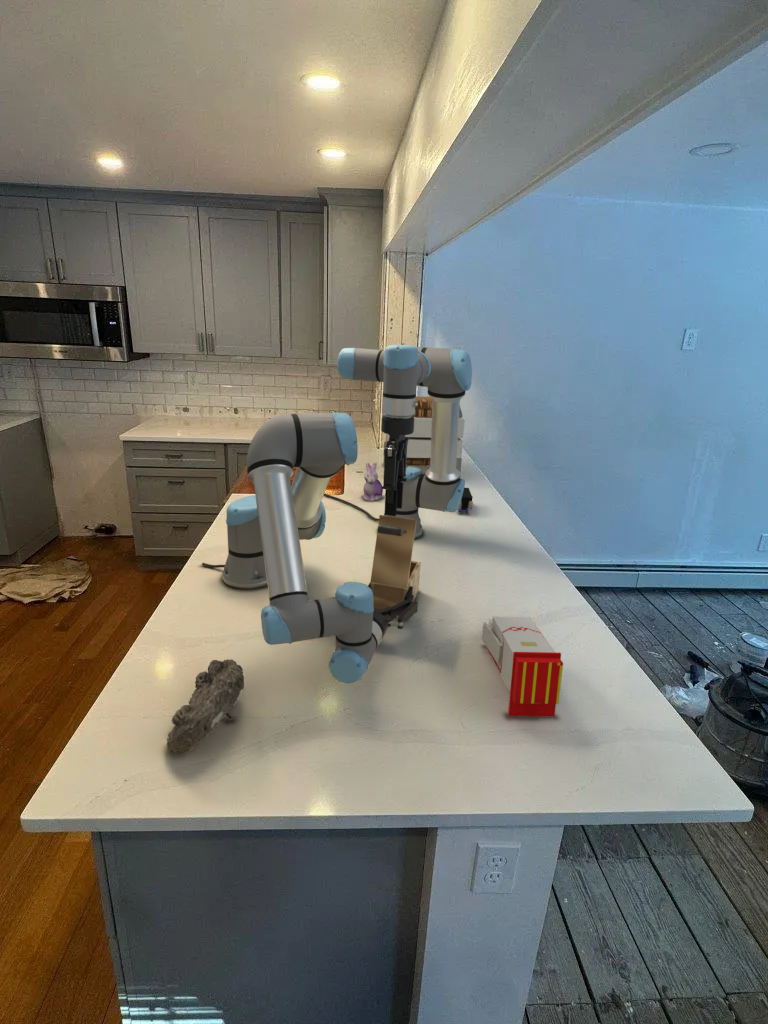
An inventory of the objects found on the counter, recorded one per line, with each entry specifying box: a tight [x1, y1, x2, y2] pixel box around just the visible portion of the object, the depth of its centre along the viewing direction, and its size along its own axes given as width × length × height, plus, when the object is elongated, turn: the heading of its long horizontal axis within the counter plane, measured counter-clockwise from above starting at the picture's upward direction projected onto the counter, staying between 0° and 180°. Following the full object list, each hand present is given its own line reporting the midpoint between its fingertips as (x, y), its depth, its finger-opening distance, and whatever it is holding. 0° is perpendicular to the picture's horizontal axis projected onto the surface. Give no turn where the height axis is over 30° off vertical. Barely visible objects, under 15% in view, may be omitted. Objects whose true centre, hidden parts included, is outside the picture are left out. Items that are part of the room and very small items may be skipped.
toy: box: [481, 615, 564, 718], centre depth 123 cm, size 12×13×30 cm
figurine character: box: [456, 487, 474, 514], centre depth 226 cm, size 7×8×15 cm
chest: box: [371, 560, 422, 619], centre depth 152 cm, size 16×10×9 cm, turn 165°
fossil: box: [166, 658, 245, 754], centre depth 106 cm, size 22×10×15 cm
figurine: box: [362, 461, 384, 502], centre depth 233 cm, size 9×10×15 cm
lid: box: [369, 514, 417, 588], centre depth 139 cm, size 17×10×8 cm
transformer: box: [383, 395, 465, 475], centre depth 268 cm, size 34×33×41 cm
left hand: (391, 587), depth 147 cm, fingers closed on chest, 9 cm apart
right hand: (393, 511), depth 137 cm, fingers open, 5 cm apart
